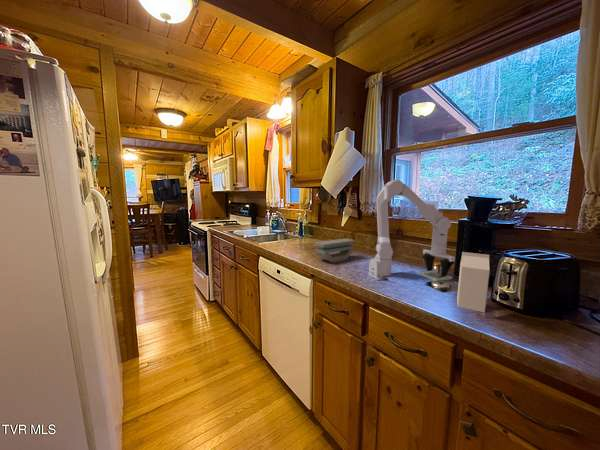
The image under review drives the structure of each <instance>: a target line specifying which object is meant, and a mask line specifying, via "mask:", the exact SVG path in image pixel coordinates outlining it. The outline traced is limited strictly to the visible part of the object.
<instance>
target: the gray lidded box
mask: <svg viewBox="0 0 600 450" xmlns="http://www.w3.org/2000/svg"><path fill="white" fill-rule="evenodd" d="M355 243H356V240H355V239H351V238H338V239H331V240H330V239H329V240H322V241H321V240H320V241H315V242H314V243H313V244H314V246H316V247H315V253H316V254H317V255H318V256H319V257H320V258H321V259H322V260H323V261H326V262H329V263H337V262H342V261H347V260H348V259H349V257H350V255H351V254H352V253H353V251H354V249H355V246H354V245H351V244H355Z"/></svg>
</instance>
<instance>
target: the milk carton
mask: <svg viewBox="0 0 600 450" xmlns="http://www.w3.org/2000/svg"><path fill="white" fill-rule="evenodd" d="M490 269H491V268H490V254H485V253H484V254H483V253H474V252H466V251H462V253H461V257H460V265H459V275H458V283H459V284H458V291H457V295H456V297H457V298H456V302H457V303H456V305H457V307H459V308H462V309H465V310H466V309H467V310H472V311H476V312H480V313H476V314H475V315H477V316H481V317H485V315H486V314H485V313H486V305H487V296H488V295H487V294H488V288H489V287H488V286H489V279H490Z"/></svg>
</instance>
